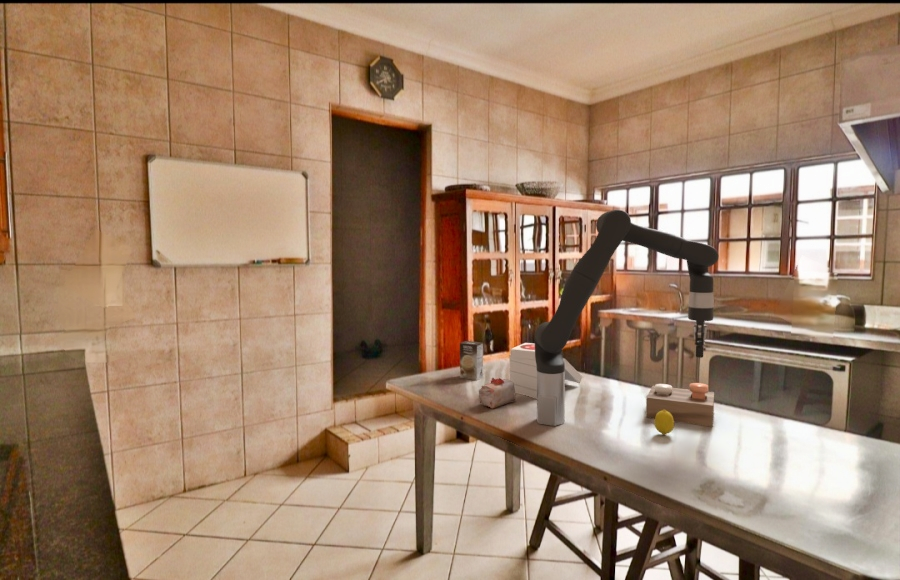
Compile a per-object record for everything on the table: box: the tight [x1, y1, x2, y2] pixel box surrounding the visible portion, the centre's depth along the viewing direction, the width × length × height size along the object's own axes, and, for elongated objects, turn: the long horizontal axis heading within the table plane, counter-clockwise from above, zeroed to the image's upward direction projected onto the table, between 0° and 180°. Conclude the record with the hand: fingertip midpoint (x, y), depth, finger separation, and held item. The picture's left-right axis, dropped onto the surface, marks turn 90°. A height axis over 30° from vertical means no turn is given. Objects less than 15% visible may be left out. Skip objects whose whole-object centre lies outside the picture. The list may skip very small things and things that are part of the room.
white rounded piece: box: [654, 383, 673, 396], centre depth 174 cm, size 6×6×8 cm
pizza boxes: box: [508, 342, 583, 400], centre depth 206 cm, size 19×30×18 cm, turn 127°
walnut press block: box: [645, 385, 715, 428], centre depth 171 cm, size 16×20×7 cm
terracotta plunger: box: [689, 382, 709, 400], centre depth 169 cm, size 6×6×8 cm
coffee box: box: [459, 340, 484, 381], centre depth 225 cm, size 9×6×16 cm
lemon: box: [654, 410, 675, 436], centre depth 154 cm, size 6×6×8 cm
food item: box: [478, 376, 516, 410], centre depth 187 cm, size 14×8×10 cm, turn 132°
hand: (699, 356), depth 167 cm, fingers closed
